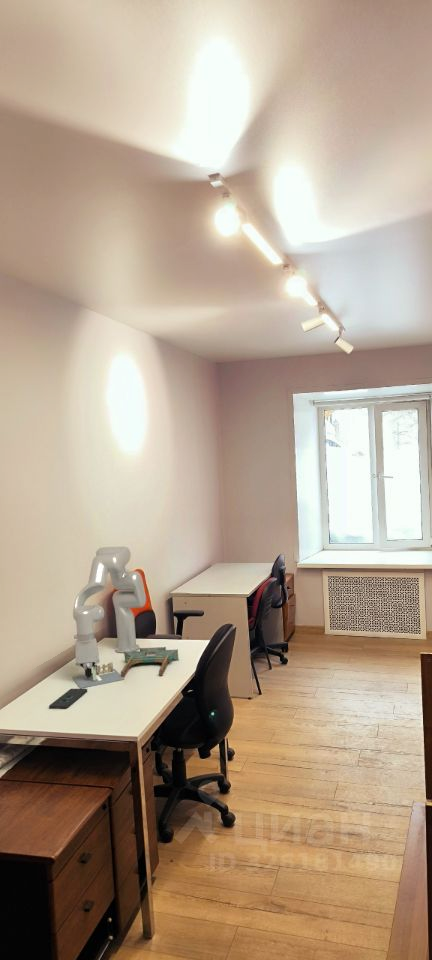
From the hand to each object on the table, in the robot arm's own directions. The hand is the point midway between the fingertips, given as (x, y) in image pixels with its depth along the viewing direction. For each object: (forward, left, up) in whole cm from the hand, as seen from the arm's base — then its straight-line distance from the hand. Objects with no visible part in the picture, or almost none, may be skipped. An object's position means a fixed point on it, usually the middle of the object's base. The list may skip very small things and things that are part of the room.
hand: (88, 677), depth 285 cm
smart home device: (+19, -13, -3) cm, 23 cm away
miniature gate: (-3, +29, -2) cm, 29 cm away
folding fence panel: (0, +3, -1) cm, 3 cm away
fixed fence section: (-5, +8, -1) cm, 9 cm away
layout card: (0, +4, -2) cm, 5 cm away
